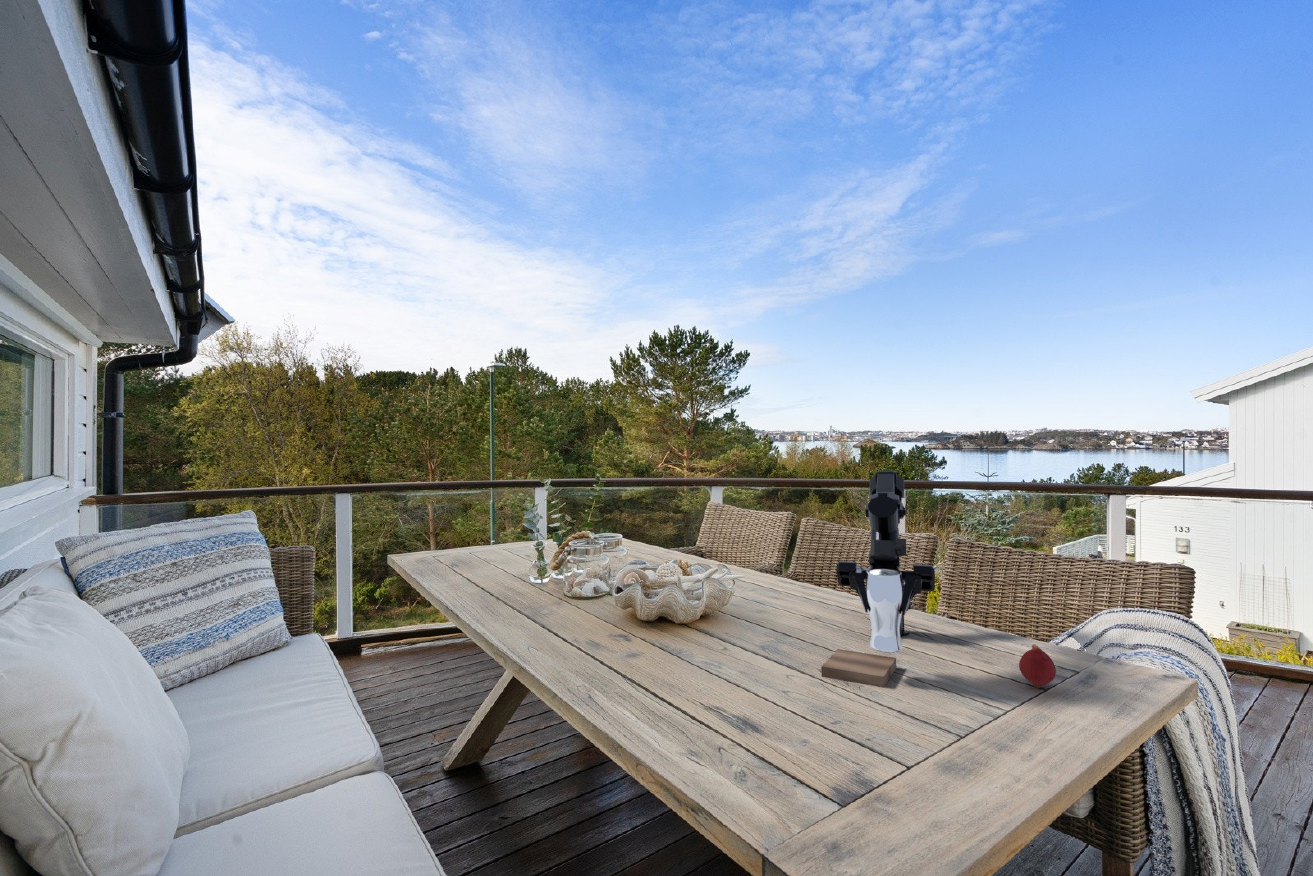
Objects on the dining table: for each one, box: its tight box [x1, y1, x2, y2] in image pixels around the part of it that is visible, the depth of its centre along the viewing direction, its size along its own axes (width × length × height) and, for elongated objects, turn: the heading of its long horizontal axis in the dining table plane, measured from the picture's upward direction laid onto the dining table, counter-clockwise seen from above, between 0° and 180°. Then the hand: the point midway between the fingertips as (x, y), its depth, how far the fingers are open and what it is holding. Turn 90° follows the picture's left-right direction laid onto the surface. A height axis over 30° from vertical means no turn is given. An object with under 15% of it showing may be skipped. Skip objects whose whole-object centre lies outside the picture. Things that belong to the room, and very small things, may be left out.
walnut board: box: [821, 648, 897, 688], centre depth 126 cm, size 12×12×2 cm
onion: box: [1018, 644, 1057, 689], centre depth 116 cm, size 6×6×8 cm
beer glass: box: [865, 568, 903, 654], centre depth 123 cm, size 7×7×15 cm
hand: (884, 612), depth 122 cm, fingers closed on beer glass, 6 cm apart
